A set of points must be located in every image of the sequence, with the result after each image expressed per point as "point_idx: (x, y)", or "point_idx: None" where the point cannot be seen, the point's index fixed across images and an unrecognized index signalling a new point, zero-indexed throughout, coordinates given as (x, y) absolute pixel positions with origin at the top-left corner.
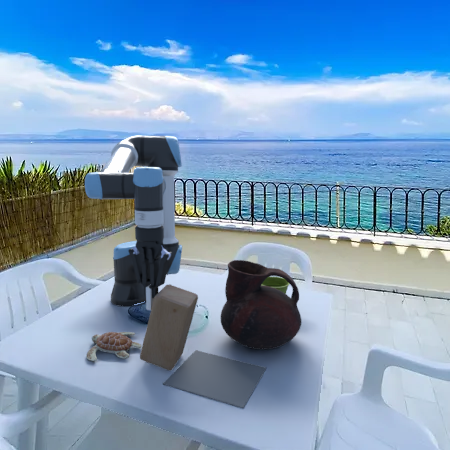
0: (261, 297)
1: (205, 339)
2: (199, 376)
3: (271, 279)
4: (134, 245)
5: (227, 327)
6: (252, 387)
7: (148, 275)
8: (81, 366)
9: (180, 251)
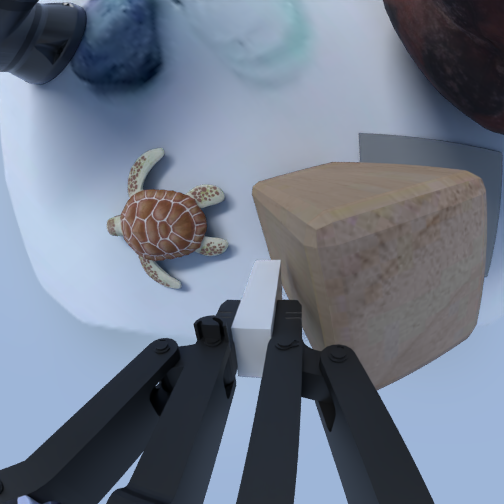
0: None
1: (347, 69)
2: None
3: None
4: None
5: (463, 107)
6: (495, 224)
7: (218, 412)
8: (171, 299)
9: None
